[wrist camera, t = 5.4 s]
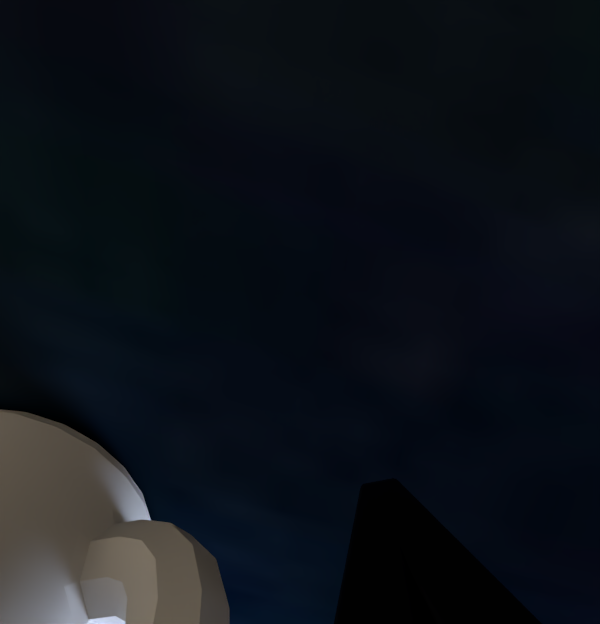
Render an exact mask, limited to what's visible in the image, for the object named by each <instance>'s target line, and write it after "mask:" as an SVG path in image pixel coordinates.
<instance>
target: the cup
mask: <svg viewBox="0 0 600 624" xmlns="http://www.w3.org/2000/svg"><path fill="white" fill-rule="evenodd" d="M0 624H229V605H228V601H227V598H226V594H225V590H224V587H223V583H222V579H221V576H220V572H219V568H218V564H217V561H216V558H215V557H214V556H213V555H211V554H210V553H209V552H208V551H207V550H206V549H205V548H204V547H203V546H202V545H201V544H200V543H199V542H198V541H197V540H196V539H195V538H194V537H193V536H192V535H191V534H189V533H187V532H185V531H184V530H182V529H180V528H179V527H177V526H175V525H173V524H172V523H167V522H159V521H152V520H151V518H150V515H149V512H148V509H147V506H146V503H145V500H144V497H143V494H142V492H141V491H140V489H139V488H138V486H137V485H136V483H135V482H134V481H133V479H132V478H131V476H130V475H129V473H128V472H127V470H126V469H125V467H124V466H122V465H121V464H120V463H119V462H118V461H117V460H116V459H115V458H114V457H113V456H111V455H110V454H109V453H108V452H107V451H106V450H105V449H104V448H103V447H101V446H100V445H99V444H98V443H96V442H95V441H93V440H91V439H89V438H88V437H86V436H84V435H82V434H80V433H79V432H77V431H75V430H73V429H72V428H70V427H68V426H66V425H65V424H62V423H59V422H55V421H52V420H49V419H46V418H43V417H40V416H37V415H34V414H31V413H28V412H21V411H11V410H2V409H0Z"/></svg>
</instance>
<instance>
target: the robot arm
mask: <svg viewBox="0 0 600 624" xmlns="http://www.w3.org/2000/svg"><path fill="white" fill-rule="evenodd" d="M334 624H542V623H541V622H539V621H538V620H537V619H536V618H535V617H534V616H533V615H532V614H531V613H530V612H529V611H528V610H527V609H526V608H525V607H524V606H523V605H522V604H521V603H520V602H519V601H518V600H517V599H516V598H515V597H514V596H513V595H512V594H511V593H510V592H509V591H508V590H507V589H506V588H505V587H504V586H503V585H502V584H501V583H500V582H499V581H498V580H497V579H496V578H495V577H494V576H493V575H492V574H491V573H490V572H489V571H488V570H487V569H486V568H485V567H484V566H483V565H482V564H481V563H480V562H479V561H478V560H477V559H476V558H475V557H474V556H473V555H472V554H471V553H470V552H469V551H468V550H467V549H466V548H465V547H464V546H463V545H462V544H461V543H460V542H459V541H458V540H457V539H456V538H455V537H454V536H453V535H452V534H451V533H450V532H449V531H448V530H447V529H446V528H445V527H444V526H443V525H442V524H441V523H440V522H439V521H438V520H437V519H436V518H435V517H434V516H433V515H432V514H431V513H430V512H429V511H428V510H427V509H426V508H425V507H424V506H423V505H422V504H421V503H420V502H419V501H418V500H417V499H416V498H415V497H414V496H413V495H412V494H411V493H410V492H409V491H408V490H407V489H406V488H405V487H404V486H403V485H402V484H401V483H400V482H399V481H398V480H396V479H394V478H392V479H387V480H382V481H376V482H371V483H366V484H363V485H362V486H361V489H360V494H359V499H358V504H357V509H356V514H355V519H354V524H353V529H352V534H351V540H350V545H349V550H348V555H347V560H346V565H345V570H344V575H343V580H342V585H341V590H340V595H339V600H338V606H337V611H336V616H335V621H334Z"/></svg>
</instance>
